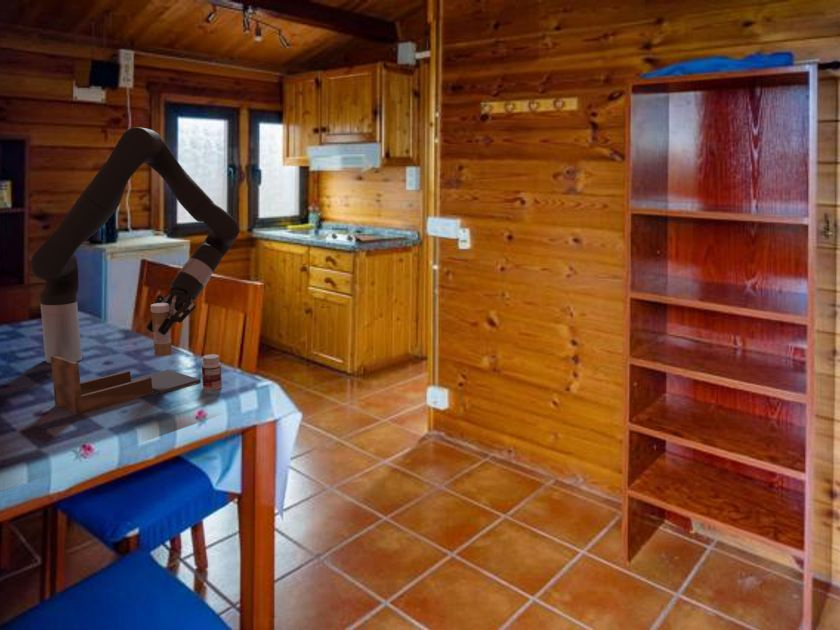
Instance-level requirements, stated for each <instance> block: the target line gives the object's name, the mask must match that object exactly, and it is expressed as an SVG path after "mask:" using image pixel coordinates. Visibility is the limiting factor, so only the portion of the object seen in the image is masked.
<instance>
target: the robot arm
mask: <svg viewBox="0 0 840 630" xmlns="http://www.w3.org/2000/svg"><path fill="white" fill-rule="evenodd" d="M143 164H146V165H147V166H149V167H150V168H151V169H153V170H154V171H155V172H156V173H157V174H158V175H159V176H160V177H161V178H162V179H163V180H164V181H165V183H166V184H167V186H168V188H169V189H170V190H171V193H172V194H173V196H174V197H175V199H176V200H177V201H178V203H179V204H180V206H182V208H183V209H185V211H186V212H187V213H188V214H189V215H190V216H191V217H192V218H193V219H194V220H195V221H196V222H199V223H204V224H205V225H206V226H207V227H208V228H209V229H210V231H209V232H208V234H207V235H206V237H205V239H204V240H203V242H202V244H200V245H199V246H198V247H197V248H196V250H194V252H193V253H192V255H191V256H190V258H189V259H188V260H187V261H186V262H185V263H184V265H182V267H181V269H180V270H179V271H178V272H177V274H176V276H175V277H174V278H173V280H172V281H171V282H170V285H169V286H170V291H169V292H168V293H167V294H166V295H164V296H163V295H161V294H158V295H157V296H156V298H155V301H154V303H153V304H155V303H168V304H169V307H170V308H169V314H168V316H167V319H165V320H164V322H163V323H162V324H161V326H160V327H159V329H158V332H160V333H161V334H162V335H165V334H166V333H167V332H168V331H169V329H170V328H171V329H172V327H173V325H175V324H176V323H179V324H180V323H182V322H184V320H186V318H187V317H188V316H190V314H191V313H192V312H193V311H194V310H195V309H196V307H197V306H196V305H195V304H194V301H196V300H197V298H198V297H199V295H200V294H201V293H202V291H203V289H205V287H206V285H207V284H208V282H209V281H210V279H211V277H212V275H213V273H214V272H215V270H217V268H218V266H219V265H220V263H221V260H222V259H223V258H224V256H226V254H227V252H229V250H230V249H231V248H232V246H233V244H235V242H236V240H237V238H238V237H239V234H240V226H239V224H238V222H237V220H236V219H234V217H233V216H232V215H231V214H229V213H228V212H227V211H226V210H224V209H223V208H222V207H221V206H218V205H217V204H216V203H215V202H214V201H213V200H212V199H211V198H210V196H208V194H206V192H205V191H204V190H203V189H202V188H201V187H200V186H199V185H198V184H197V182H195V180H194V179H192V177H191V176H190V175H189V174H188V173H187V172H186V171H185V169H184V168H183V166H182V165H181V164H180V162H178V160H177V159H176V157H175V156H174V154H173V153H172V152H171V150H170V149H169V147H168V145H167V144H166V143H165V141H164V140H163V138H162V137H161V136H160V134H159V133H158V132H156V131H155V130H152V129H150V128H147V127H140V126H135V127H131V128H129V129H127V130H125V131H124V132H123V133H122V135H121V137H120V138H119V139H118V141H117V143H116V145H115V146H114V148H113V150H112V152H111V154H110V155H109V157H108V159H107V160H106V162H105V163H104V164H103V165H102V167H101V169H99V171H98V172H97V173H96V174H95V176H94V177H93V179H92V180H91V181H90V182H89V184H87V186H86V188H85V189H84V190H83V191H82V193H80V195H79V197H78V198H77V199H76V200H75V202H74V204H73V205H72V207H71V208H70V209H69V210H68V212H67V213H66V215H65V216H64V217H63V219H62V221H61V222H60V224H59V225H58V226H57V228H56V229H55V230H54V232H52V234H51V235H50V236H49V237H48V238H47V239H46V240H45V241H44V242H43V243H42V244H41V246H39V248H38V249H37V250H35V252H33V255H32V256H31V259H30V268H31V271H32V273H33V275H34V276H35V277H36V278H38V279H39V280H42V281H45V284H44V287H43V289H42V291H41V292H40V294H39V302H40V315H41V323H42V337H43V347H44V358H45V363H47V364H49V365H51V356H54V355H55V356H59V357H62V358H65V359H68V360H71V361H74V362H79V361H81V360H83V359H82V358H83V355H82V353H83V352H82V344H81V343H82V342H81V332H80V321H79V320H80V319H79V309H78V299H77V298H78V297H77V296H78V294H79V293H78V292H79V287H80V286H79V284H80V283H79V266H78V264H79V263H78V260H77V259H78V258H77V257H76V254H75V253H76V251H77V250H78V249H79V248H80V246H81V245H82V244H83V243H85V242H86V241H87V240H88V239H90V238H91V237H92V236H94V235H95V234H96V233H97V232H99V230H101V228H103V226H105V224H106V223H107V222H108V221H109V220H110V218H111V217H112V216H113V214H114V213H115V212H116V211H117V209H118V207H119V206H120V204H121V202H122V199H123V195H124V194H125V189H126V186H127V185H128V183H129V180H130V179H131V178H132V177H133V175H134V174H135V173H136V172H137V171H138V169H139V168H140V167H141V166H142V165H143ZM149 313H150V314H152V312H151V310H150V312H149ZM146 329H147V330H148V331H149V332H150V333H153V323H152V318H151V319H150V321H149V322H148V324H147V325H146Z"/></svg>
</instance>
